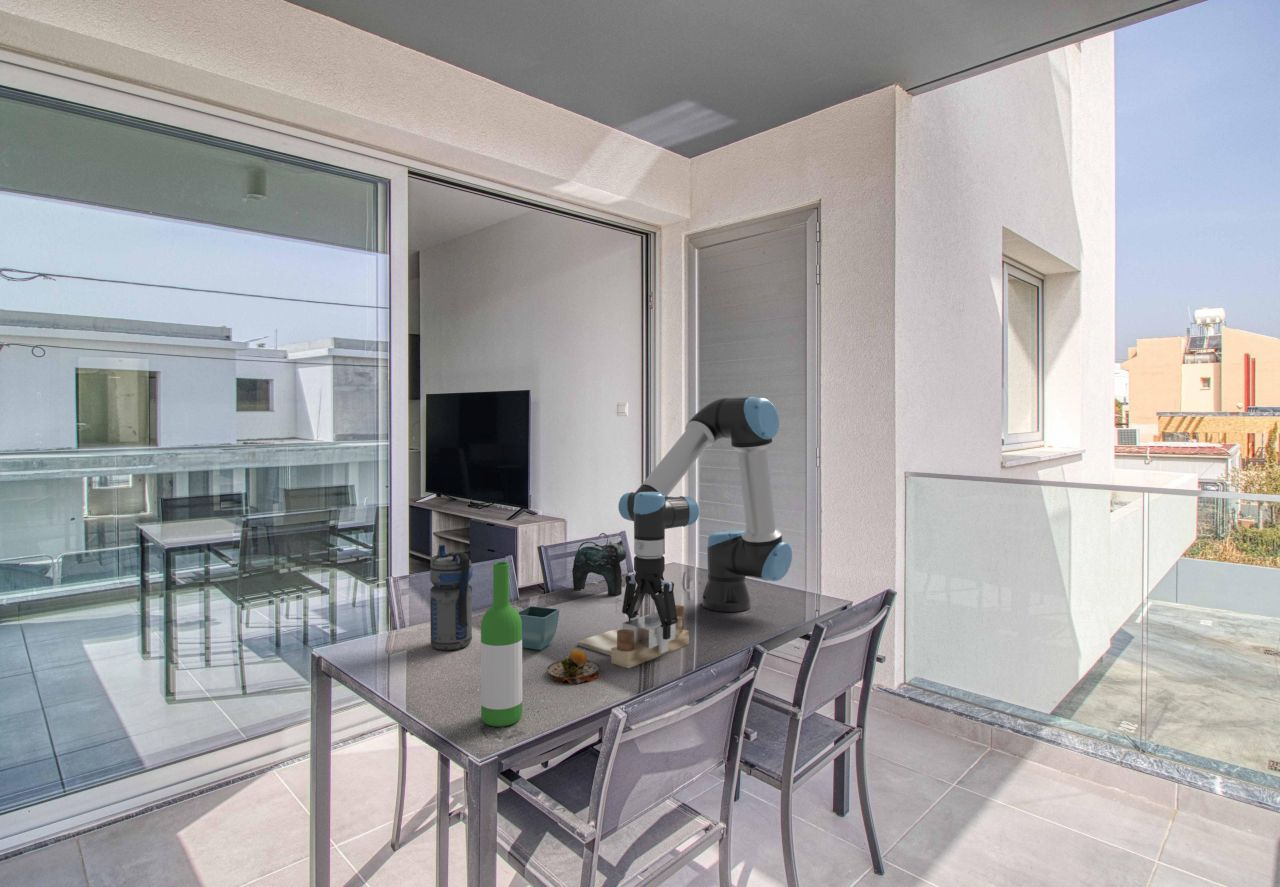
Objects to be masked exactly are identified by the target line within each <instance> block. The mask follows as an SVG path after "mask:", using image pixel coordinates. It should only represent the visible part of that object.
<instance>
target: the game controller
mask: <svg viewBox="0 0 1280 887" xmlns="http://www.w3.org/2000/svg"><path fill="white" fill-rule="evenodd" d="M603 535H604V536H605V537H606V544H605V545H600V544H597V543H596V542H594V541H585V542H582V543H581V544H580V545H579V546H578V548H577V552H576V553H575V556H574V559H573V565H572V570H571V571H572V572H571V574H572V575H571V576H572V583H573V590H576V589H580V590H579V591H582V590H581V589H583V590H585V589H584V588H586V582H587V579H588V575H589V574H590V573H591V574H595V575H599V576H602V577H603V579H604V580H605V583H606V585H607V586H606V587H607V595H608V596H615V597H617V596H621V595H623V594H622V591H623V590H622V585H623V578H622V567H621V563H622V562H623V561H625V560H626V557H627V548H626V546H624V543H623V541H622V540H619V541H618V542H617V543H613V542H612V541H611V540H610V541H609V539H608V538H609V537H608V535H607V534H606V533H604V532H601V533H600V534H599V535H598V538H600V536H603ZM608 541H609V542H608ZM585 544H593V545H586V546H583V545H585ZM582 546H583V547H582Z"/></svg>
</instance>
